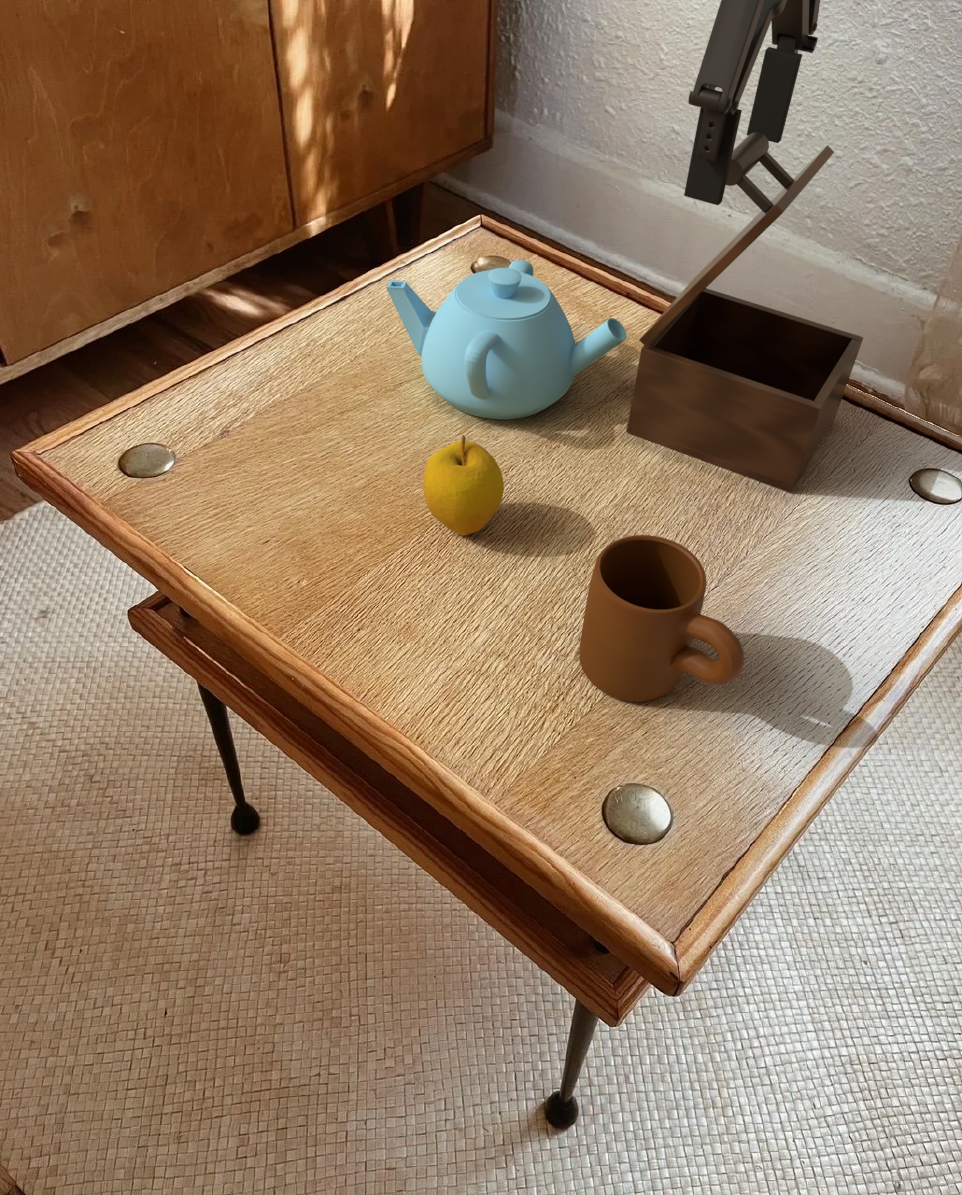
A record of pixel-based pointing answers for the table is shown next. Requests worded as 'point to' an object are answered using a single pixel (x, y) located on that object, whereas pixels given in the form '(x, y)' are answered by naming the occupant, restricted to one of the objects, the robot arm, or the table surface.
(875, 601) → the table surface
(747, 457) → the chest
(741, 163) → the lid
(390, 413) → the table surface
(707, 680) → the mug
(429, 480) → the apple
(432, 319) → the teapot
